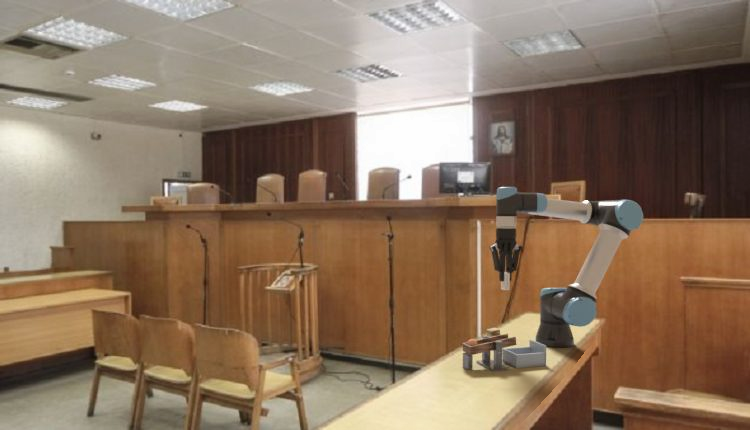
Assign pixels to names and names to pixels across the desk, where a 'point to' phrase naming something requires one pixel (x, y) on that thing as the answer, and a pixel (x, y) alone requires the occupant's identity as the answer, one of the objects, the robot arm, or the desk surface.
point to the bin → (526, 355)
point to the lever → (489, 342)
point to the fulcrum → (487, 358)
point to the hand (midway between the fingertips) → (505, 289)
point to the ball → (472, 342)
